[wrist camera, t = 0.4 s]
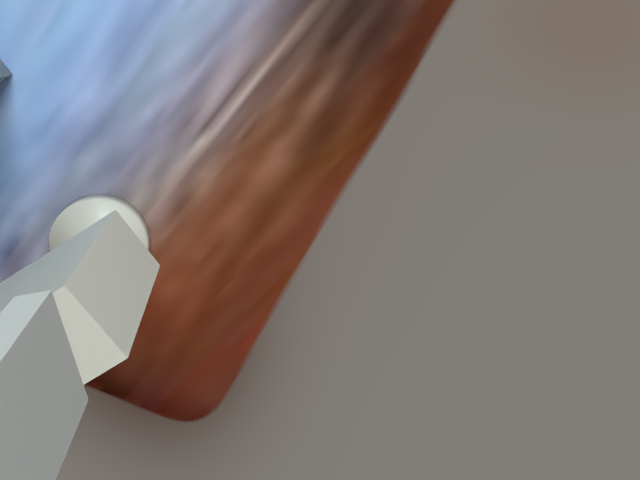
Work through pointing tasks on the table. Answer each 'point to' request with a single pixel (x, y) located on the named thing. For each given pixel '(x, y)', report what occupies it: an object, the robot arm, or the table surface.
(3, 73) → the keyhole box
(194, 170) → the table surface
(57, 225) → the peg
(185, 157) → the table surface
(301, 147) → the table surface
